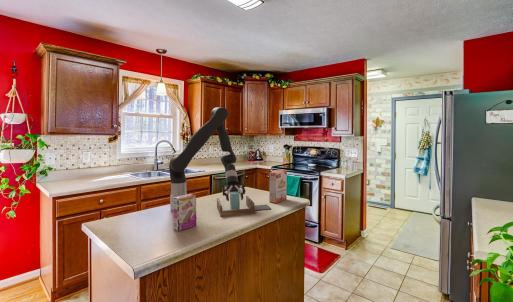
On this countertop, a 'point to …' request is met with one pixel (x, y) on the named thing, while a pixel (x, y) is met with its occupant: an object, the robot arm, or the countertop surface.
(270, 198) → the cracker box
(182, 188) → the robot arm
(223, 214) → the lane
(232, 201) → the teal block
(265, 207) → the pad
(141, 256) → the countertop surface
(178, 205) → the candy bar box
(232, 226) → the countertop surface
